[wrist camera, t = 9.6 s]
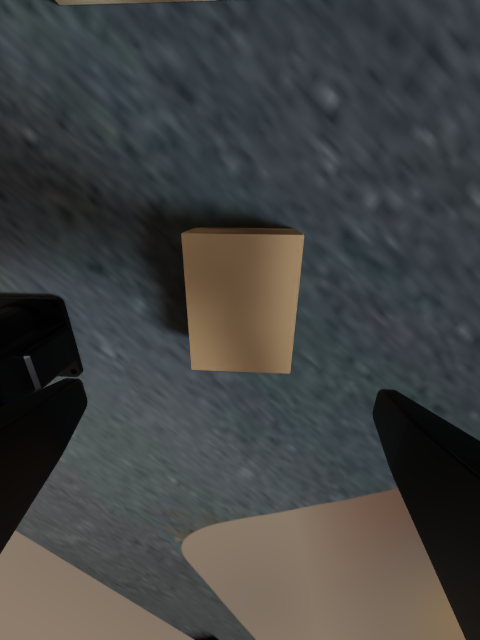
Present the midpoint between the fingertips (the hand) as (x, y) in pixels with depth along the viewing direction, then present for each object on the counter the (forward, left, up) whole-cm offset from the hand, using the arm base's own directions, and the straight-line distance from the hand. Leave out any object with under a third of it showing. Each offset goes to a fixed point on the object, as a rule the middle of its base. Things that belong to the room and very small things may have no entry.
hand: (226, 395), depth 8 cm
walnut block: (0, 0, -11) cm, 11 cm away
